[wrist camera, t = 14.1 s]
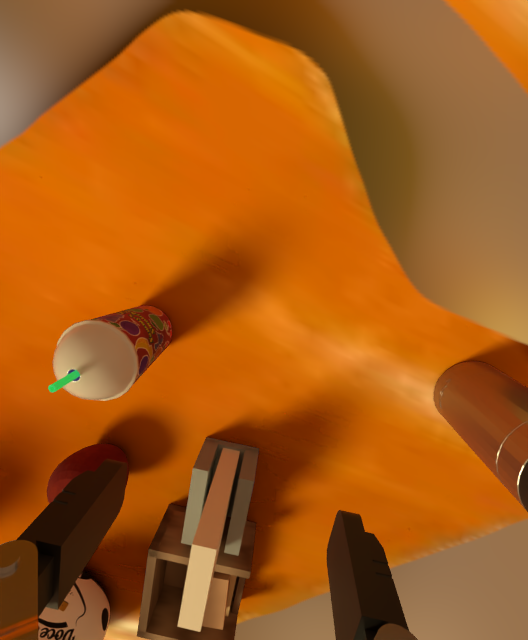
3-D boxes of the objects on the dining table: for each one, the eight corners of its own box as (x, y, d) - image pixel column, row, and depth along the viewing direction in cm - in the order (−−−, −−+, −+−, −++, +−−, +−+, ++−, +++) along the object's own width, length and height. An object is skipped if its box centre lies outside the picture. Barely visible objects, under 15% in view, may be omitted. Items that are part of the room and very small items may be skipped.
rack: (256, 522, 52) (250, 571, 44) (239, 600, 56) (231, 658, 48) (169, 503, 52) (148, 549, 45) (158, 581, 56) (137, 636, 48)
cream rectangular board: (240, 451, 48) (216, 549, 33) (227, 513, 51) (200, 631, 35) (223, 447, 48) (192, 544, 33) (211, 509, 51) (177, 626, 35)
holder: (259, 448, 49) (254, 481, 42) (245, 514, 52) (238, 555, 45) (206, 437, 49) (193, 468, 43) (195, 503, 52) (181, 543, 45)
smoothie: (188, 309, 45) (112, 359, 26) (172, 364, 47) (90, 448, 28) (130, 289, 45) (10, 323, 26) (116, 344, 47) (-5, 415, 28)
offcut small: (232, 560, 48) (228, 580, 46) (226, 607, 51) (222, 629, 48) (198, 554, 49) (192, 574, 46) (194, 601, 51) (188, 623, 48)
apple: (115, 419, 50) (72, 461, 40) (153, 467, 51) (121, 519, 41) (69, 447, 52) (18, 495, 42) (107, 493, 53) (67, 550, 43)
